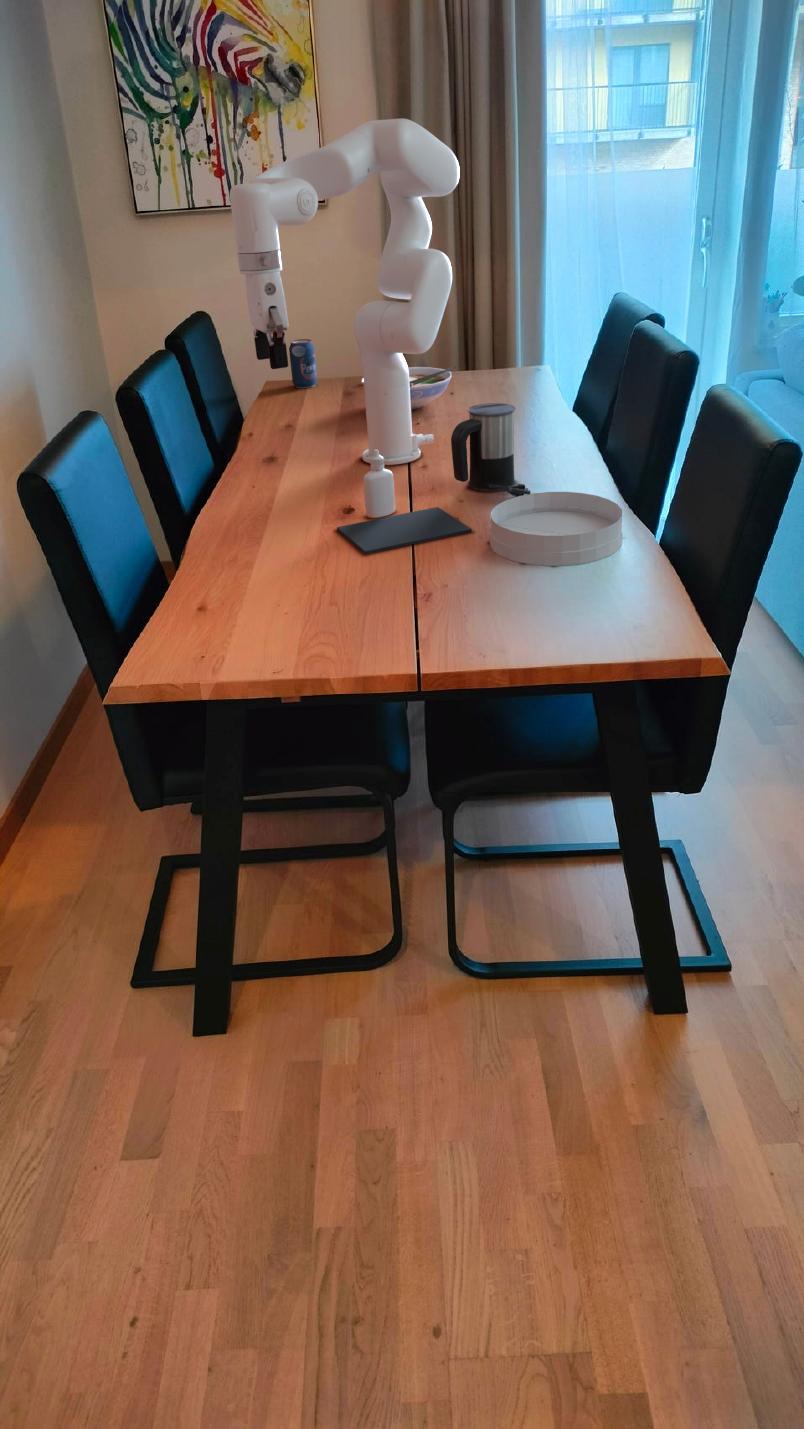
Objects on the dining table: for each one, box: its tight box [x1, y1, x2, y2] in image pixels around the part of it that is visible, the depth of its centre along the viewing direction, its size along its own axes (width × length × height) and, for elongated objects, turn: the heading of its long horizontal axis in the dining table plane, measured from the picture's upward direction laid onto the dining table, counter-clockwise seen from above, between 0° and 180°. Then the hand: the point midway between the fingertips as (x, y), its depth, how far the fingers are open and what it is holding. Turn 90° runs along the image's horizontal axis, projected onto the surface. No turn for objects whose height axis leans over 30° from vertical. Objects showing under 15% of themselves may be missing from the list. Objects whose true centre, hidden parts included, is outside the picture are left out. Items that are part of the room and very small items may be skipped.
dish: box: [489, 491, 624, 567], centre depth 172 cm, size 22×22×5 cm
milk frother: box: [450, 402, 531, 497], centre depth 195 cm, size 14×16×15 cm
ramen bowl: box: [360, 366, 457, 411], centre depth 258 cm, size 25×23×8 cm
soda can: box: [288, 338, 318, 389], centre depth 285 cm, size 7×7×12 cm
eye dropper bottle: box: [363, 450, 396, 519], centre depth 188 cm, size 4×6×12 cm
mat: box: [336, 506, 473, 556], centre depth 182 cm, size 20×14×1 cm
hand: (272, 363), depth 189 cm, fingers open, 9 cm apart
